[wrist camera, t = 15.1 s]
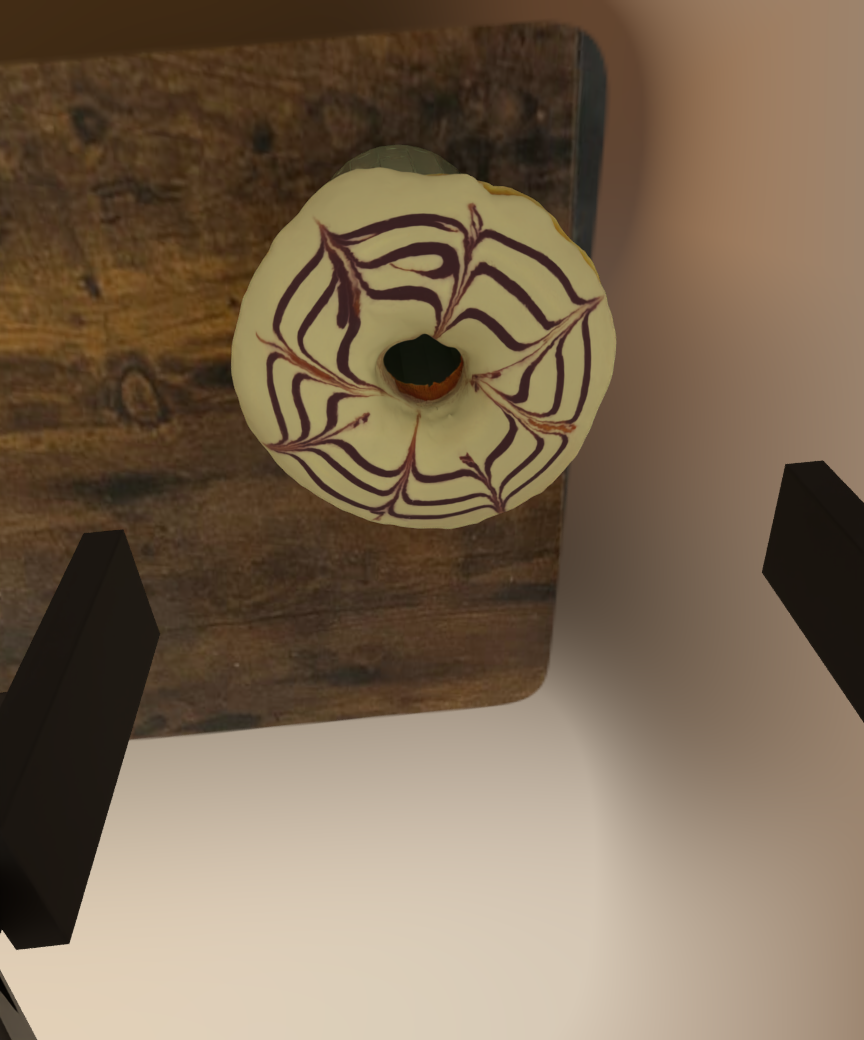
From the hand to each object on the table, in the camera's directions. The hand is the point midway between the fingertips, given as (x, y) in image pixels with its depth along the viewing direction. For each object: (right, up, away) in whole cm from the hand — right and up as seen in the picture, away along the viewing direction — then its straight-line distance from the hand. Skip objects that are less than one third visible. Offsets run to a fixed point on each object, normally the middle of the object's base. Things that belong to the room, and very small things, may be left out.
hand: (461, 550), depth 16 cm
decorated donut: (-1, +6, +9) cm, 11 cm away
